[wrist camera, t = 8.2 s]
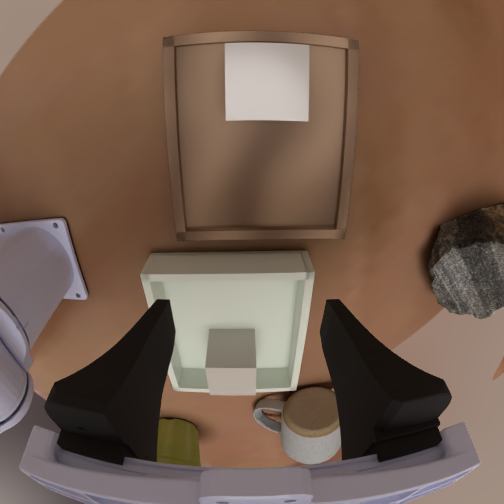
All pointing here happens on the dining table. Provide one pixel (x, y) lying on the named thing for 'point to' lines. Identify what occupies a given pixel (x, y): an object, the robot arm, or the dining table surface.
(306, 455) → the ceramic mug
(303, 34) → the wooden tray
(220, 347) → the stone
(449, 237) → the rock
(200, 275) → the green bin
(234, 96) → the stone
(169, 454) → the plant pot
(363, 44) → the dining table surface
